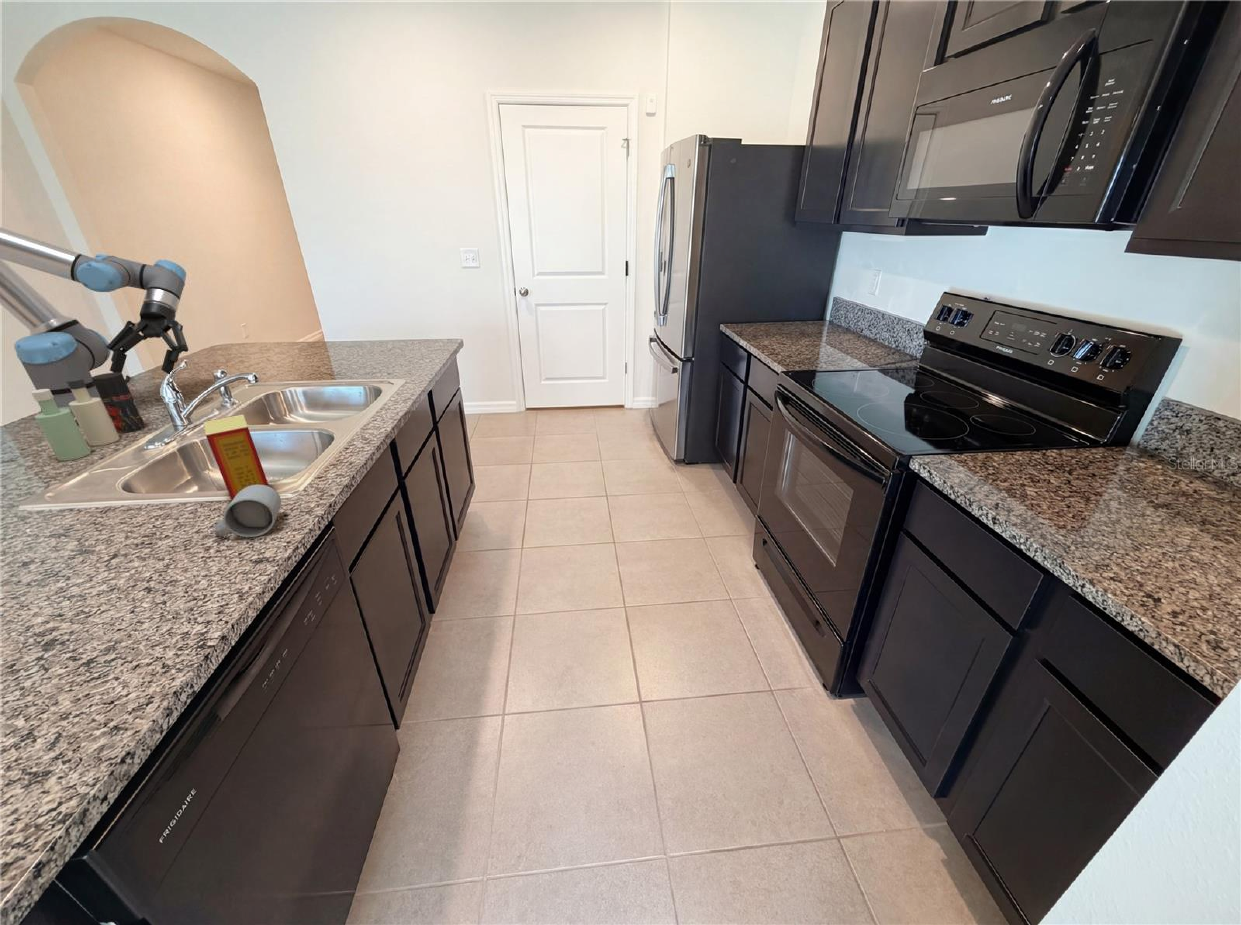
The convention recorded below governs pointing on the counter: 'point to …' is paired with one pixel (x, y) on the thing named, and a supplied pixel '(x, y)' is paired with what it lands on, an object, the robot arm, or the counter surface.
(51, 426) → the bottle
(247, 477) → the baking soda box
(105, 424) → the bottle
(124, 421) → the deodorant
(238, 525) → the ceramic mug
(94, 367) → the robot arm
